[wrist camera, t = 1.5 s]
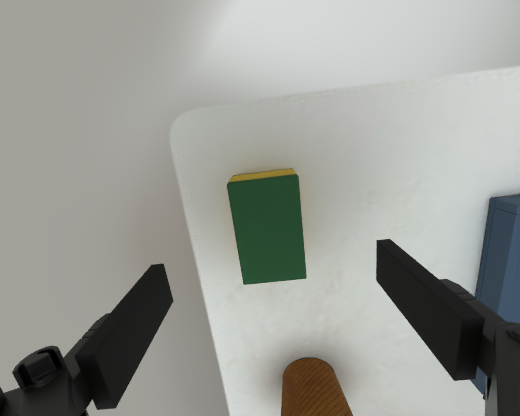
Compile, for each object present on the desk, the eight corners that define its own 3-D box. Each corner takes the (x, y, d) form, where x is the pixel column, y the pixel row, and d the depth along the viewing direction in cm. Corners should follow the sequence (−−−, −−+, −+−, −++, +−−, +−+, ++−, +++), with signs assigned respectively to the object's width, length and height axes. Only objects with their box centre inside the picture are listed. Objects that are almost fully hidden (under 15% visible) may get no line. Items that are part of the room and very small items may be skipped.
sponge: (232, 175, 23) (226, 184, 19) (292, 168, 22) (298, 175, 19) (246, 262, 25) (243, 285, 22) (300, 256, 25) (306, 278, 21)
